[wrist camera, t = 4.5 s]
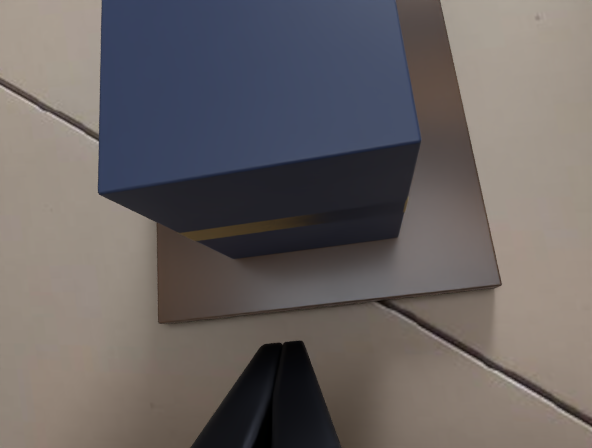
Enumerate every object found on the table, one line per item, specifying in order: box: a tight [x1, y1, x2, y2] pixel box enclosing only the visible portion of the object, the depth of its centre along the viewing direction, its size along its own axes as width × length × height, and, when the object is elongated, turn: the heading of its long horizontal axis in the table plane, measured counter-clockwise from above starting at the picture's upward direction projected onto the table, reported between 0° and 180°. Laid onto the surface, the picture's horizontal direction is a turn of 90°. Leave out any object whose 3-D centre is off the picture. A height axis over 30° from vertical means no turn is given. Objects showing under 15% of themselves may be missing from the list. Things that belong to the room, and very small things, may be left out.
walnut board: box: [157, 0, 502, 324], centre depth 18 cm, size 22×12×1 cm, turn 5°
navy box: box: [98, 0, 422, 259], centre depth 13 cm, size 10×6×8 cm, turn 5°
